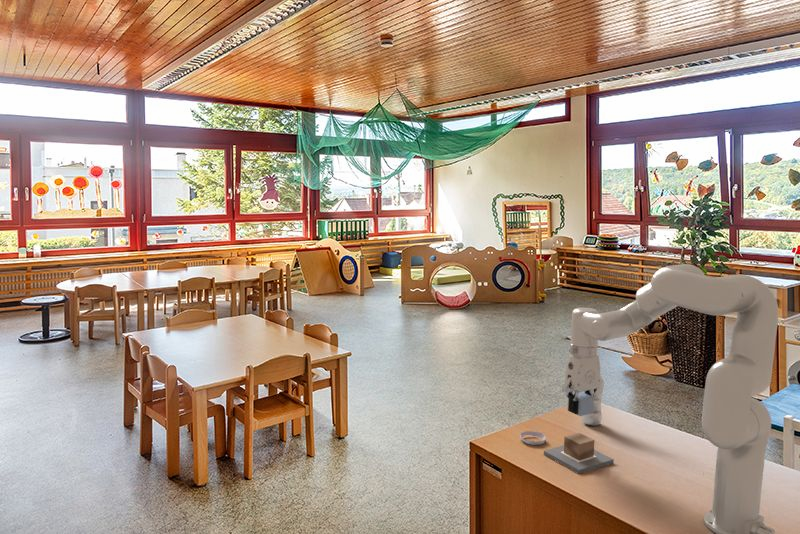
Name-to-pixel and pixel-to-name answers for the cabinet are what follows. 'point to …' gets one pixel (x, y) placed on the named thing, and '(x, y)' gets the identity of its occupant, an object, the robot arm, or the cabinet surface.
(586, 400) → the slate blue cube
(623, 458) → the cabinet surface
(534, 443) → the lavender ring
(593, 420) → the plastic bottle
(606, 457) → the building board
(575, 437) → the walnut block
